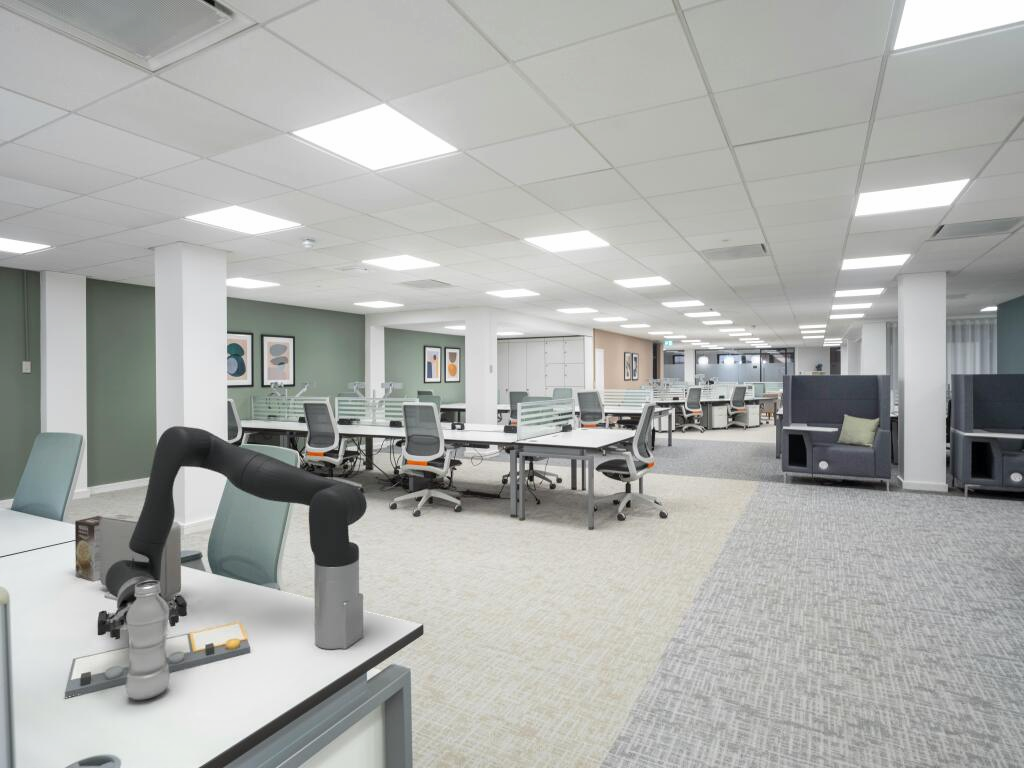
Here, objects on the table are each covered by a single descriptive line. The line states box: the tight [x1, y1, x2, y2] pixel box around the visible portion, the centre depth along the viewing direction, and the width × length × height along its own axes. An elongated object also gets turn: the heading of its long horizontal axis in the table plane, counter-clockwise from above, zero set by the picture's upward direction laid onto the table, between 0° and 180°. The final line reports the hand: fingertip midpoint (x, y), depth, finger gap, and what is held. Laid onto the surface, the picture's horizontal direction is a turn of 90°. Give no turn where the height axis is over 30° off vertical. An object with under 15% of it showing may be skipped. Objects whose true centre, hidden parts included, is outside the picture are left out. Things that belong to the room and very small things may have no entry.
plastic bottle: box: [125, 580, 171, 701], centre depth 100 cm, size 6×7×20 cm
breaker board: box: [64, 621, 251, 698], centre depth 113 cm, size 30×14×3 cm, turn 123°
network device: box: [99, 513, 182, 602], centre depth 146 cm, size 26×9×20 cm, turn 68°
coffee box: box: [74, 515, 103, 582], centre depth 161 cm, size 9×6×16 cm
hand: (146, 627), depth 103 cm, fingers open, 8 cm apart
